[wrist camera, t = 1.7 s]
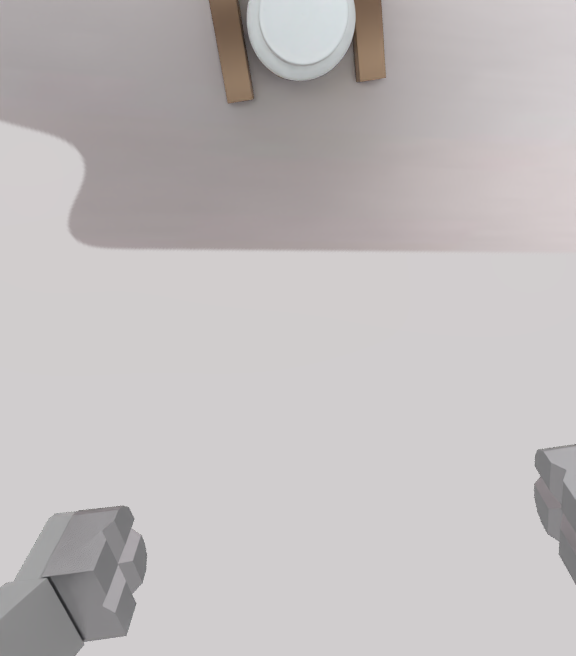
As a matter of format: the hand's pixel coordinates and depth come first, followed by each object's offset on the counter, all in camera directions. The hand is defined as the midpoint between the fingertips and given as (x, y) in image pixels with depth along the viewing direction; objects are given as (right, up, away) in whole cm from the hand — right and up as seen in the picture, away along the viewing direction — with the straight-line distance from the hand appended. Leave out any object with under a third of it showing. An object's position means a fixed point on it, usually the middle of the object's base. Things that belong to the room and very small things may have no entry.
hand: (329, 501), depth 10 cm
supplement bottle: (0, +22, +21) cm, 30 cm away
